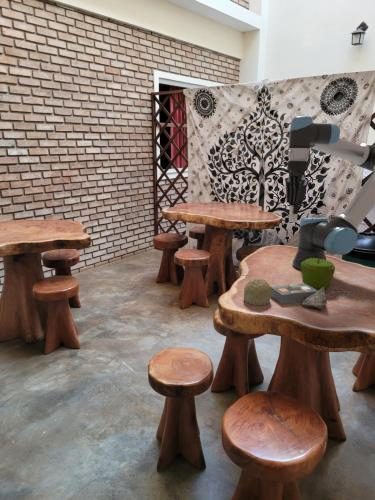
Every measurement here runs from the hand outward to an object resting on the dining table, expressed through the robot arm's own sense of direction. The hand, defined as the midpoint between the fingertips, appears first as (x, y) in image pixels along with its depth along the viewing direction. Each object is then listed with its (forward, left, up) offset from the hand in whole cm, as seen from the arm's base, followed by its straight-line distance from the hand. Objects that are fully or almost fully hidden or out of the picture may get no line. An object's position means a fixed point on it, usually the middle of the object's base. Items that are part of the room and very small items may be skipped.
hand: (292, 221), depth 142 cm
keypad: (+8, +17, -24) cm, 31 cm away
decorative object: (+22, +16, -25) cm, 37 cm away
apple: (-7, +9, -25) cm, 27 cm away
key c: (+12, +17, -23) cm, 31 cm away
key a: (+4, +17, -23) cm, 29 cm away
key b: (+8, +17, -22) cm, 29 cm away
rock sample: (+5, +26, -25) cm, 36 cm away
